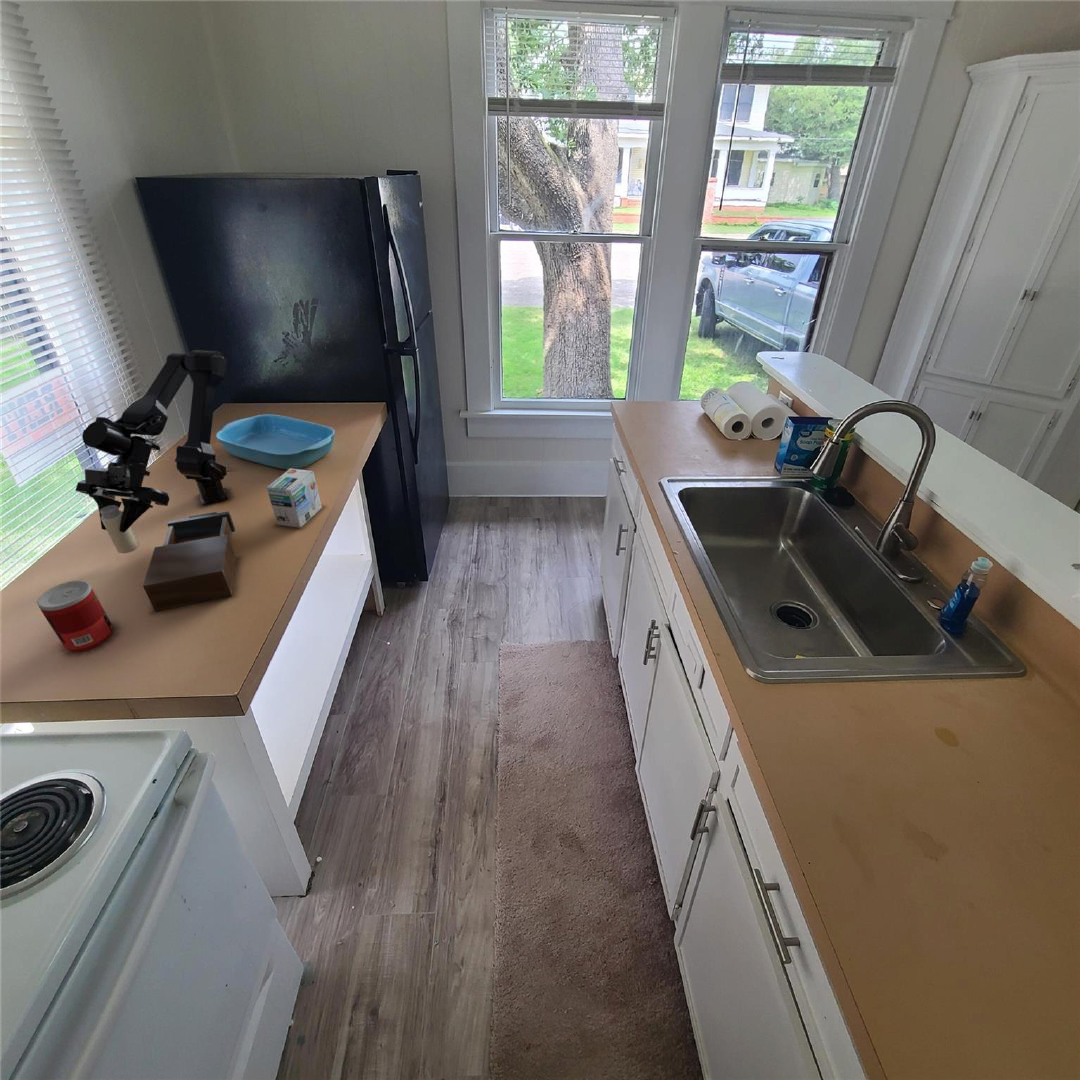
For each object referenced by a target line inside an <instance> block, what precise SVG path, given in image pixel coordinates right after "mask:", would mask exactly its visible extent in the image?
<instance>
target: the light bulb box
mask: <svg viewBox="0 0 1080 1080" xmlns="http://www.w3.org/2000/svg"><path fill="white" fill-rule="evenodd" d="M314 473H315V472H314V471H313V470H308V469H307V470H305V469H299V470H298V469H289V470H285V472H284V473H282V474H281V475H280V476H279V477H278V478H276V479H275V480H274V481H273V482H272V483H270V484H269V485H268V486H266V490H267V494H268V497H269V500H270V504H271V507H272V510H273V514H274V517H275V520H276V525H277V526H284V527H292V528H299V529H300V528H302V527H303V526H304V525H305V524H306V523H308V521H310V519H311V518H313V517H314V516H315V515H316V514H317V513H318V512H319V511H320V510H322V508H323V507H322V502H321V498H320V494H319V490H318V486H317V482H316V477H315V474H314Z"/></svg>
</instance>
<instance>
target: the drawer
mask: <svg viewBox="0 0 1080 1080" xmlns="http://www.w3.org/2000/svg"><path fill="white" fill-rule="evenodd" d="M166 525H167V527H168V529H167V532H166V536H165V539H164V542H163V545H162V546H165V545H171V544H176V543H182V542H188V541H194V540H199V539H205V538H211V537H216V536H222V535H228V538H229V541H230V544H231V545H232V537H233V533H234V532H236V526H235V524H234V521H233V518H232V515H231V512H230V511H223V512H217V511H214V512H208V513H202V514H195V515H189V516H188V517H186V518H181V519H174V520H169V521H167V523H166Z"/></svg>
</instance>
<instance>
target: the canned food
mask: <svg viewBox="0 0 1080 1080" xmlns="http://www.w3.org/2000/svg"><path fill="white" fill-rule="evenodd" d="M36 604H37V606H38V609H39V610H40V611H41V613H42V615H43V616H44V618H45V619H46V621H47V622H48V624H49V625H50V627H51V628H52V630H53V631H54V633H55V635H56V636H57V638H58V639H59V641H60V642H61V644H62V645H63V647H64V648H65V649H66V650H68V651H70V652H75V653H76V652H85V651H89V650H92V649H94V648H96V647H98V646H100V645H102V644H103V643H105V642H106V641H107V640H109V639H110V637H111V636H112V634H113V633H114V627H113V626H114V625H113V624H112V622H111V620H110V618H109V615H107V613H106V611H105V609H104V607H103V605H102V603H101V602H100V600H99V597H98V596H97V594H96V593H95V591H94V589H93V587H92V586H91V584H90V583H89V582H87V581H84V580H72V581H67V582H64V583H60V584H58V585H55V586H52V587H51V588H49V589H47V590H46V591H45V592H43V593H42V594H41V595H40V596H39V597H38V599H37V601H36Z"/></svg>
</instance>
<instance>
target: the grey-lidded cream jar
mask: <svg viewBox="0 0 1080 1080" xmlns="http://www.w3.org/2000/svg"><path fill="white" fill-rule="evenodd" d="M100 512H101V514H102V516H101V520H102V522H103V524H104V526H105V528H106V530H105V531H106V532H107V534H108V536H109V538H110V540H111V541H112V543H113V545H114V548H115V549H116V552H117V553H118V554H128V553H129V554H130V553H132V552H134V551H136V550H137V549H139V546H140V544H139V542H138V540H137V537H136V536H135V533H134V532H133V530H132V527H131V526H130V527H129V528H128V529H127V530H126V532H120V531H119V530H120V523H121V518H122V514H123V510H120V508H119V509H118V507H117V506H116V505H110V506H106V507H104V508H102V509H101V510H100Z"/></svg>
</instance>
